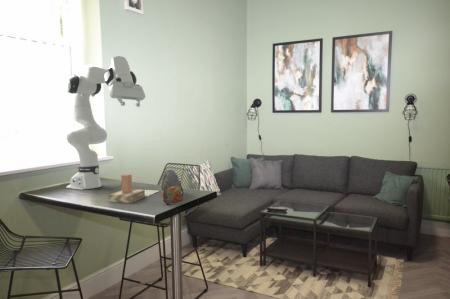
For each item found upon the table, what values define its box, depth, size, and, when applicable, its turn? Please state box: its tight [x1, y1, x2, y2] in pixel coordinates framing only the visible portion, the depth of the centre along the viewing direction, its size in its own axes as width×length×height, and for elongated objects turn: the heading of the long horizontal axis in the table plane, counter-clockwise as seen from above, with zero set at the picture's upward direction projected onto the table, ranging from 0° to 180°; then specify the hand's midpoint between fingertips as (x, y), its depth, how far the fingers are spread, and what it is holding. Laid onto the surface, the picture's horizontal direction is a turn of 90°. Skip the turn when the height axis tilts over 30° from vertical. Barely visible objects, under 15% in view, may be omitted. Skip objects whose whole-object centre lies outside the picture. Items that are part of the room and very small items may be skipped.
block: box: [120, 173, 133, 193], centre depth 206 cm, size 4×4×10 cm
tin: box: [162, 185, 184, 205], centre depth 198 cm, size 15×3×8 cm, turn 149°
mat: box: [144, 189, 160, 197], centre depth 222 cm, size 16×14×1 cm
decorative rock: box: [160, 169, 183, 192], centre depth 215 cm, size 16×7×15 cm, turn 150°
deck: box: [108, 189, 146, 204], centre depth 207 cm, size 14×14×4 cm
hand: (130, 105), depth 200 cm, fingers open, 8 cm apart
